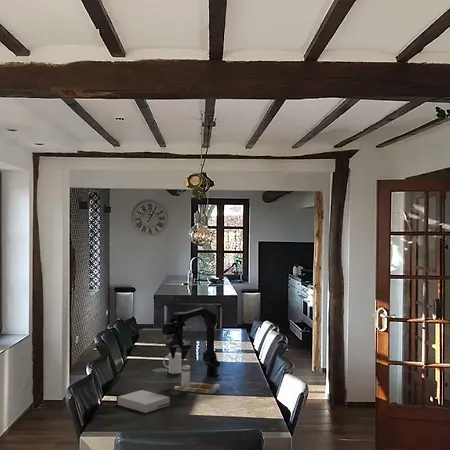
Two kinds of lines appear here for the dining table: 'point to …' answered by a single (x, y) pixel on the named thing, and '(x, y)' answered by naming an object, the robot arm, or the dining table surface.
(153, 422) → the dining table surface
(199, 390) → the beige u-shaped frame
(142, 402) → the disc drive
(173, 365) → the mug
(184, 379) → the grey capped post
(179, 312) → the robot arm
